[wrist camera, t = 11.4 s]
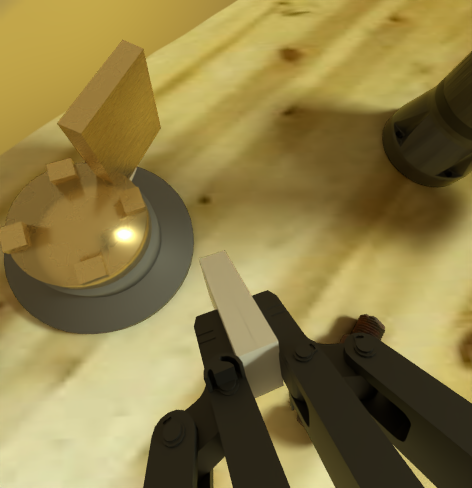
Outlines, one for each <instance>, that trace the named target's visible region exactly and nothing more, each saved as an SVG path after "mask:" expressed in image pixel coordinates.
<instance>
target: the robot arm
mask: <svg viewBox="0 0 472 488" xmlns="http://www.w3.org/2000/svg"><path fill="white" fill-rule="evenodd" d="M383 144H384V148H385V151H386V153H387V155H388V157H389V159H390V161H391V162H392V163H393V165H394V166H395V167H396V168H397V169H398V170H399V171H400V172H401V173H402V174H403V175H405V176H406V177H408V178H409V179H411V180H413V181H414V182H417V183H419V184H422V185H425V186H430V187H443V186H447V185H450V184H452V183H454V182H456V181H458V180H460V179H461V178H463V177H465V176H466V175H468V174H469V173H470V172H471V171H472V51H471V52H470V53H469V54H468V55H467V56H466V57H465V58H464V59H463V60H462V61H461V62H460V63H459V64H458V65H457V66H456V67H455V68H454V69H453V70H452V71H451V72H450V73H449V74H448V75H447V76H446V77H445V78H444V79H443V80H442V81H441V82H440V83H439V84H438V85H437V86H436V87H434V88H432V89H431V90H429V91H427V92H426V93H424V94H422V95H421V96H419V97H417V98H415V99H414V100H412V101H410V102H409V103H407V104H405V105H404V106H402V107H401V108H400V109H398V110H397V111H396V112H395V114H394V115H393V116H392V117H391V118H390V119H389V120H388V121H387V123H386V125H385V127H384V130H383ZM199 261H200V265H201V268H202V272H203V275H204V279H205V282H206V285H207V289H208V292H209V296H210V299H211V301H212V304H213V307H214V309H215V310H213V311H211V312H208V313H205V314H202V315H200V316H197V317H196V320H195V324H194V329H195V333H196V337H197V341H198V345H199V349H200V353H201V357H202V361H203V365H204V381H205V383H206V387H205V389H204V392H203V393H202V395H201V396H200V398H199V399H198V400H197V401H196V402H195V403H194V404H192V405H191V406H190V407H189V408H188V409H186V410H185V411H184V410H174V411H172V412H169V413H167V414H166V415H165V416H164V417H162V418H161V419H160V421H159V422H158V424H157V425H156V426H155V429H154V432H153V435H152V438H151V444H150V450H149V456H148V462H147V468H146V474H145V480H144V486H143V488H213V468H214V467H215V466H216V465H217V464H218V463H219V462H220V461H221V460H222V459H223V458H224V457H226V461H227V465H228V469H229V473H230V477H231V481H232V485H233V488H290V486H289V483H288V481H287V478H286V476H285V473H284V471H283V468H282V466H281V463H280V461H279V458H278V456H277V453H276V451H275V448H274V446H273V443H272V441H271V438H270V436H269V433H268V431H267V428H266V426H265V423H264V421H263V418H262V416H261V413H260V411H259V408H258V406H257V403H256V400H255V398H257V397H259V396H261V395H263V394H266V393H268V392H270V391H272V390H275V389H277V388H279V387H281V386H284V385H283V380H284V382H285V384H286V386H287V388H288V390H289V399H290V406H291V409H292V410H294V407H295V409H296V411H297V413H298V415H299V417H300V419H301V421H302V423H303V425H304V427H305V429H306V431H307V433H308V435H309V437H310V439H311V441H312V443H313V445H314V447H315V448H316V450H317V452H318V454H319V456H320V458H321V460H322V462H323V464H324V466H325V468H326V470H327V472H328V474H329V476H330V478H331V480H332V482H333V484H334V486H335V488H424V486H423V485H422V484H421V482H420V481H419V480H418V478H417V477H416V476H415V474H414V473H413V472H412V470H411V469H410V468H409V466H408V465H407V464H406V462H405V461H404V460H403V458H402V457H401V455H400V454H399V453H398V451H397V450H396V449H395V447H396V448H397V449H398V450H399V451H400V452H401V453H402V454H403V455H404V456H405V457H406V458H407V459H408V460H409V461H410V462H411V463H412V464H413V465H414V466H416V467H417V468H418V469H419V470H420V471H421V472H422V473H423V474H424V475H425V476H426V477H427V478H428V479H429V480H430V481H431V482H432V483H433V484H434V485H435V486H436V487H437V488H472V403H470V402H469V401H467V400H466V399H464V398H463V397H461V396H460V395H459V394H457V393H456V392H454V391H453V390H451V389H450V388H448V387H447V386H446V385H444V384H443V383H441V382H440V381H438V380H437V379H435V378H434V377H432V376H431V375H430V374H428V373H427V372H425V371H424V370H422V369H421V368H419V367H418V366H416V365H415V364H414V363H412V362H411V361H409V360H408V359H406V358H405V357H403V356H402V355H400V354H399V353H398V352H396V351H395V350H393V349H392V348H390V347H389V346H387V345H386V344H385V343H383V342H382V341H380V340H379V339H377V338H376V337H374V336H372V335H370V334H366V333H353V334H351V335H349V336H348V337H347V338H346V339H345V341H344V343H340V344H319V343H316V342H315V341H312V340H310V339H309V338H307V337H306V335H305V334H304V333H303V332H302V330H301V329H300V328H299V326H298V325H297V323H296V322H295V321H294V319H293V318H292V316H291V315H290V314H289V312H288V311H287V310H286V308H285V307H284V305H282V303H281V301H280V300H279V298H278V297H277V296H276V295H275V294H273V293H272V292H270V291H268V290H267V291H264V292H261V293H258V294H256V295H253V296H252V295H251V294H250V292H249V290H248V289H247V287H246V285H245V284H244V282H243V280H242V278H241V277H240V275H239V273H238V272H237V270H236V268H235V267H234V265H233V263H232V262H231V260H230V258H229V256H228V255H227V253H226V251H225V250H224V251H221V252H218V253H215V254H212V255H209V256H206V257H202V258H199ZM392 444H393V445H394V446H395V447H394V446H393V445H392Z"/></svg>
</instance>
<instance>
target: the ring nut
mask: <svg viewBox="0 0 472 488" xmlns="http://www.w3.org/2000/svg"><path fill="white" fill-rule="evenodd" d="M57 124H58V125H59V127H60V128H61V129H62V131H63V132H64V133H65V135H66V136H67V137H68V139H69V140H70V141H71V143H72V144H73V145H74V147H75V148H76V150H77V151H78V152H79V154H80V155H81V156H82V158H83V159H84V160H85V162H86V163H74V161H73V160H72V159H71V158H68V159H64V160H61V161H57V162H53V163H49V164H46V167H47V172H45V173H43V174H41V175H39V176H38V177H36V178H35V179H34V180H32V181H31V182H30V183H29V184H28V185H26V186H25V187H24V188H23V189H22V191H21V192H20V193H19V194H18V196H17V197H16V199H15V200H14V202H13V203H12V205H11V208H10V210H9V213H8V216H7V219H6V225H5V226H4V227H1V228H0V243H1V247H2V252H4V253H7V254H11V256H12V258H13V259H14V261H15V262H16V264H17V265H18V266H19V267H20V268H21V269H22V270H23V271H24V272H26V273H27V274H29V275H30V276H31V277H33V278H35V279H37V280H39V281H42V282H45V283H48V284H52V285H56V286H60V287H65V288H70V289H78V290H86V289H95V288H100V287H103V286H106V285H109V284H111V283H113V282H116V281H117V280H119V279H121V278H123V277H124V276H125V275H127V274H128V273H129V272H130V271H132V270H133V269H134V268H135V267H136V266H137V264H138V263H139V262H140V261H141V259H142V258H143V256H144V254H145V253H146V250H147V248H148V246H149V243H150V239H151V233H152V222H151V217H150V213H149V210H148V208H147V206H146V204H145V202H144V200H143V198H142V195H141V192H140V190H139V187H136V186H135V185H134V184H133V182H132V181H131V180H129V179H130V177H131V175H132V174H133V172H134V170H135V169H136V167H137V166H138V164H139V162H140V161H141V159H142V158H143V156H144V154H145V153H146V151H147V149H148V148H149V146H150V145H151V143H152V141H153V140H154V138H155V136H156V135H157V133H158V132H159V130H160V128H161V126H160V122H159V117H158V113H157V108H156V104H155V99H154V95H153V90H152V85H151V81H150V76H149V72H148V67H147V63H146V58H145V54H144V49H143V48H140V47H138V46H136V45H133V44H131V43H129V42H126V41H124V40H122V41H121V42H120V44H119V45H118V46H117V48H116V49H115V50H114V51H113V53H112V54H111V55H110V56H109V58H108V59H107V61H106V62H105V63H104V64H103V66H102V67H101V68H100V69H99V71H98V72H97V73H96V74H95V76H94V77H93V78H92V80H91V81H90V82H89V83H88V85H87V86H86V87H85V89H84V90H83V91H82V92H81V94H80V95H79V96H78V97H77V99H76V100H75V101H74V102H73V104H72V105H71V106H70V108H69V109H68V110H67V111H66V113H65V114H64V115H63V117H62V118H61V119H60V120H59V122H58V123H57Z"/></svg>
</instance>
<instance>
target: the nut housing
mask: <svg viewBox="0 0 472 488" xmlns="http://www.w3.org/2000/svg"><path fill="white" fill-rule="evenodd" d="M129 180H131V181H132V182H133V184H134V185H135V186H136V187H139V190H140V192H141V195H142V198H143V200H144V202H145V204H146V206H147V208H148V210H149V213H150V217H151V222H152V233H151V239H150V243H149V246H148V248H147V250H146V253H145V254H144V256H143V258H142V259H141V261H140V262H139V263H138V264H137V266H136V267H135V268H134V269H133V270H132V271H130V272H129V273H128V274H127V275H125V276H124V277H123V278H121V279H119V280H117V281H116V282H113V283H111V284H109V285H106V286H103V287H100V288H95V289H86V290H78V289H70V288H65V287H60V286H56V285H52V284H48V283H45V282H42V281H39V280H37V279H35V278H33V277H31V276H30V275H29V274H27V273H26V272H24V271H23V270H22V269H21V268H20V267H19V266H18V265H17V264H16V262H15V261H14V259H13V258H12V256H11V254H7V253H4V266H5V272H6V276H7V279H8V282H9V285H10V288H11V289H12V291H13V293H14V295H15V297H16V298H17V300H18V301H19V302H20V303H21V305H22V306H23V307H24V308H25V309H26V310H27V311H28V312H29V313H30V314H31V315H33V316H34V317H36V318H37V319H38V320H40V321H41V322H43V323H45V324H47V325H49V326H52V327H54V328H57V329H60V330H63V331H66V332H73V333H79V334H98V333H107V332H113V331H118V330H122V329H125V328H128V327H131V326H133V325H136V324H138V323H140V322H142V321H144V320H146V319H148V318H149V317H151V316H152V315H153V314H155V313H156V312H158V311H159V310H160V309H161V308H162V307H164V306H165V305H166V304H167V303H168V302H169V301H170V300H171V298H172V297H173V296H174V295H175V294H176V292H177V291H178V289H179V288H180V287H181V285H182V283H183V281H184V279H185V278H186V276H187V273H188V270H189V268H190V265H191V261H192V256H193V247H194V239H193V229H192V224H191V219H190V216H189V213H188V211H187V208H186V207H185V205H184V203H183V201H182V199H181V198H180V197H179V195H178V194H177V192H176V191H175V190H174V189H173V188H172V187H171V186H170V185H169V184H168V183H166V182H165V181H164V180H163V179H161V178H160V177H158V176H157V175H155V174H153V173H151V172H149V171H147V170H145V169H142V168H139V167H136V169H135V170H134V172H133V174H132V175H131V177H130V179H129Z"/></svg>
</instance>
